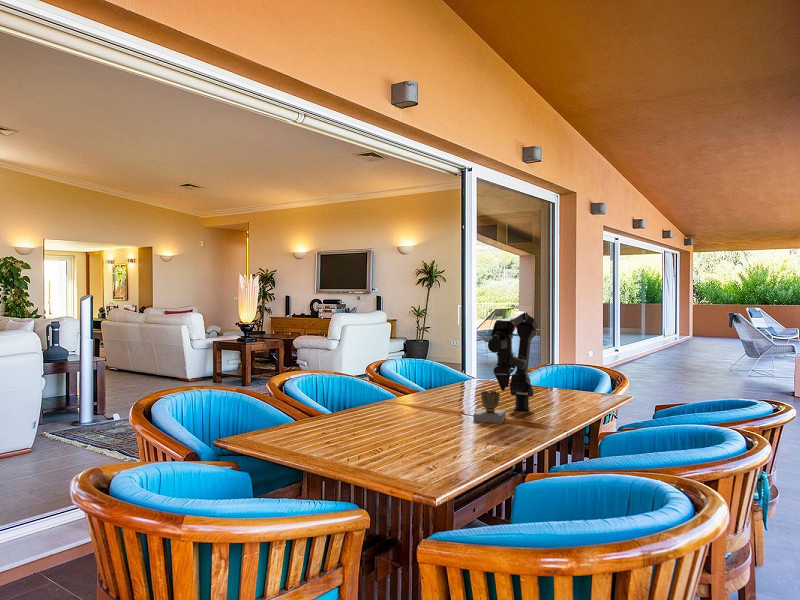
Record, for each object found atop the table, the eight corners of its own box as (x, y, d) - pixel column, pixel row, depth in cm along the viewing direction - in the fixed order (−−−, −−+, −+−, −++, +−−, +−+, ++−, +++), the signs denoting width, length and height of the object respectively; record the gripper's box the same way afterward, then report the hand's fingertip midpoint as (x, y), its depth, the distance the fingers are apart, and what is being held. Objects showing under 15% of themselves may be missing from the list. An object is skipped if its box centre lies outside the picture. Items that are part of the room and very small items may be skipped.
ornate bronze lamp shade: (499, 410, 230) (499, 390, 230) (500, 414, 223) (500, 393, 223) (480, 410, 231) (480, 390, 231) (481, 413, 224) (481, 393, 224)
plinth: (478, 416, 234) (478, 408, 234) (505, 417, 230) (505, 410, 230) (473, 421, 223) (473, 413, 223) (501, 423, 220) (501, 415, 220)
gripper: (522, 353, 220) (522, 393, 220) (527, 348, 237) (527, 385, 238) (493, 352, 223) (493, 392, 224) (500, 347, 241) (500, 384, 241)
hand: (504, 388), depth 232 cm, fingers open, 9 cm apart
